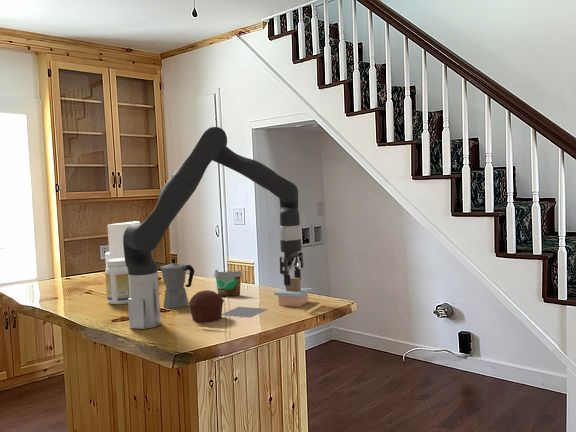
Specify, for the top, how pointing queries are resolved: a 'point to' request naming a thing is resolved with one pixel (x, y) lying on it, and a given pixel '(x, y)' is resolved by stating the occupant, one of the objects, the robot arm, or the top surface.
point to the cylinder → (116, 240)
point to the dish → (293, 300)
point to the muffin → (206, 306)
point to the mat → (244, 312)
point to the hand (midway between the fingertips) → (292, 283)
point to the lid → (293, 289)
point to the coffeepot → (176, 284)
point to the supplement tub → (117, 281)
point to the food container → (228, 283)
